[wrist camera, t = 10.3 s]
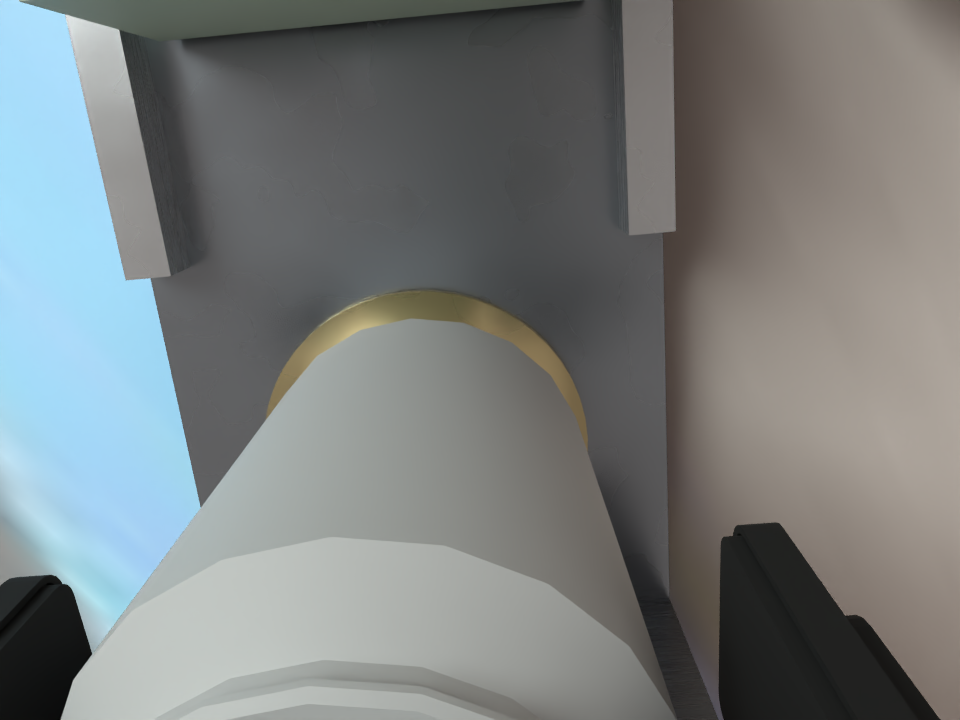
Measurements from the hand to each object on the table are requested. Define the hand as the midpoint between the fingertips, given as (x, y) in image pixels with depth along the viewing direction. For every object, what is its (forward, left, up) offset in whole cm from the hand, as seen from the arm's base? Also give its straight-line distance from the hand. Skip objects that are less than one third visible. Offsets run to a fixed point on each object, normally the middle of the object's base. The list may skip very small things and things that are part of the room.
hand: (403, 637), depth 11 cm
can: (0, +1, -8) cm, 8 cm away
